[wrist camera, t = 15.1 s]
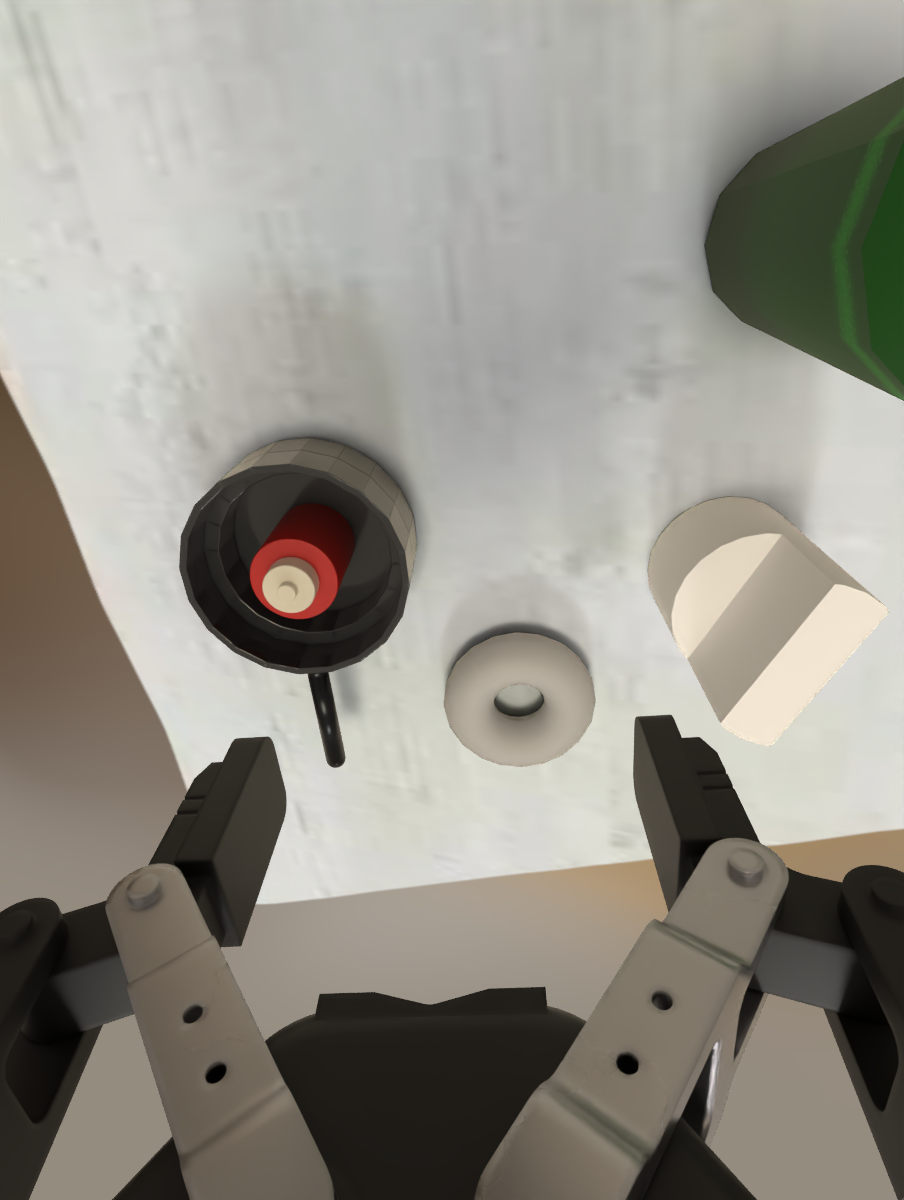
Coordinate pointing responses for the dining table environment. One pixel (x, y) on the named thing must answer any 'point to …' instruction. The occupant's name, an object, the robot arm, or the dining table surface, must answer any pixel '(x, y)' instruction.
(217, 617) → the grey round hollow bowl
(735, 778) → the dining table surface
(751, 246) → the bottle
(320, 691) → the handle
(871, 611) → the beige cylinder
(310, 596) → the ketchup bottle
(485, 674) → the donut
